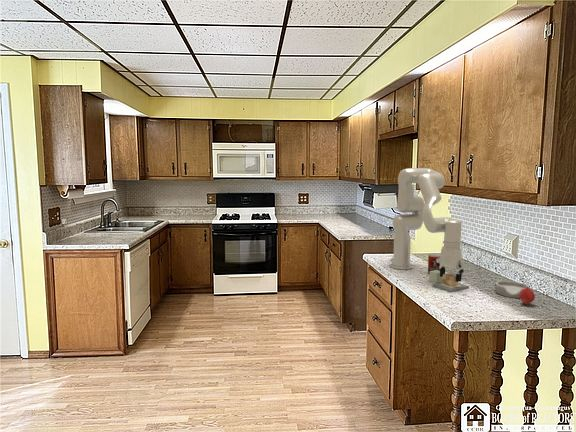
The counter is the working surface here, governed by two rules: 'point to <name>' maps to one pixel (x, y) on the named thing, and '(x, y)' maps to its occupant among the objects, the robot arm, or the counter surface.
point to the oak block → (449, 280)
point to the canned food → (433, 262)
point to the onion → (527, 295)
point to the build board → (450, 289)
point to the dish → (509, 288)
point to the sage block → (435, 276)
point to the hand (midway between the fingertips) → (450, 278)
